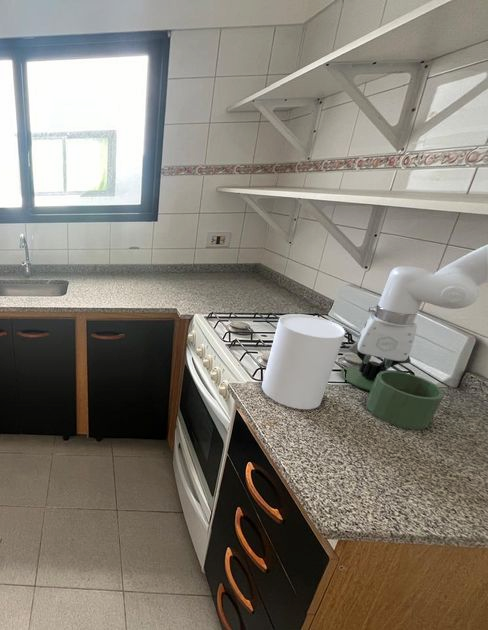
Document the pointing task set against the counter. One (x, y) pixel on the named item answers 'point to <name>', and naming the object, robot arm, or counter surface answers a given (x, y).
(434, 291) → the robot arm
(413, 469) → the counter surface
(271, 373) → the canister
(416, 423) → the tin
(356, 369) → the tin lid
